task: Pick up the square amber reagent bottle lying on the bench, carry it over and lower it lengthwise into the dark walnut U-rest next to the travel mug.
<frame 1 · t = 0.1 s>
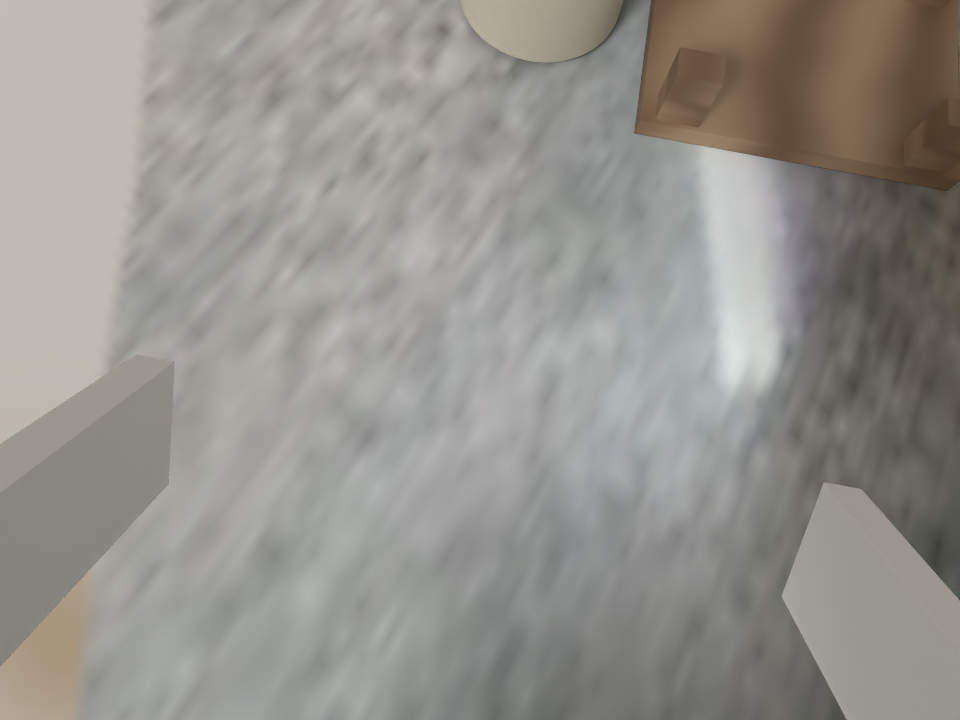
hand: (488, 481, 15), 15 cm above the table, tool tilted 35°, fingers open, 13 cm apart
U-rest: (796, 63, 37), on the table
travel mug: (539, 2, 38), on the table
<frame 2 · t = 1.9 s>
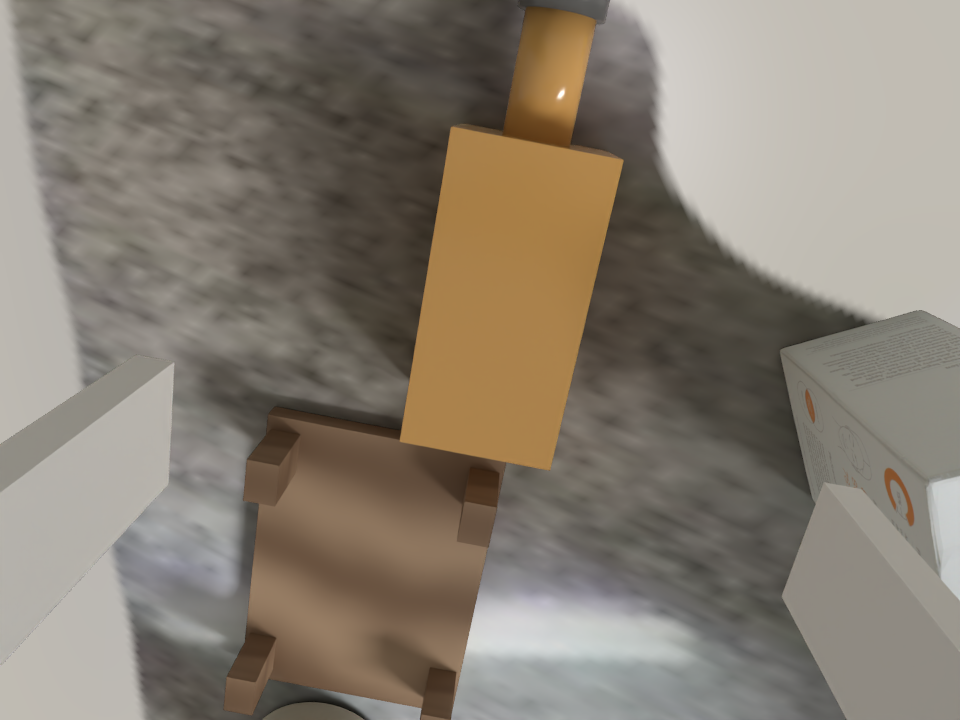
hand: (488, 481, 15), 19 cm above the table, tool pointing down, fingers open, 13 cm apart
U-rest: (369, 562, 38), on the table
amber bottle: (507, 276, 33), on the table
small box: (862, 405, 34), on the table
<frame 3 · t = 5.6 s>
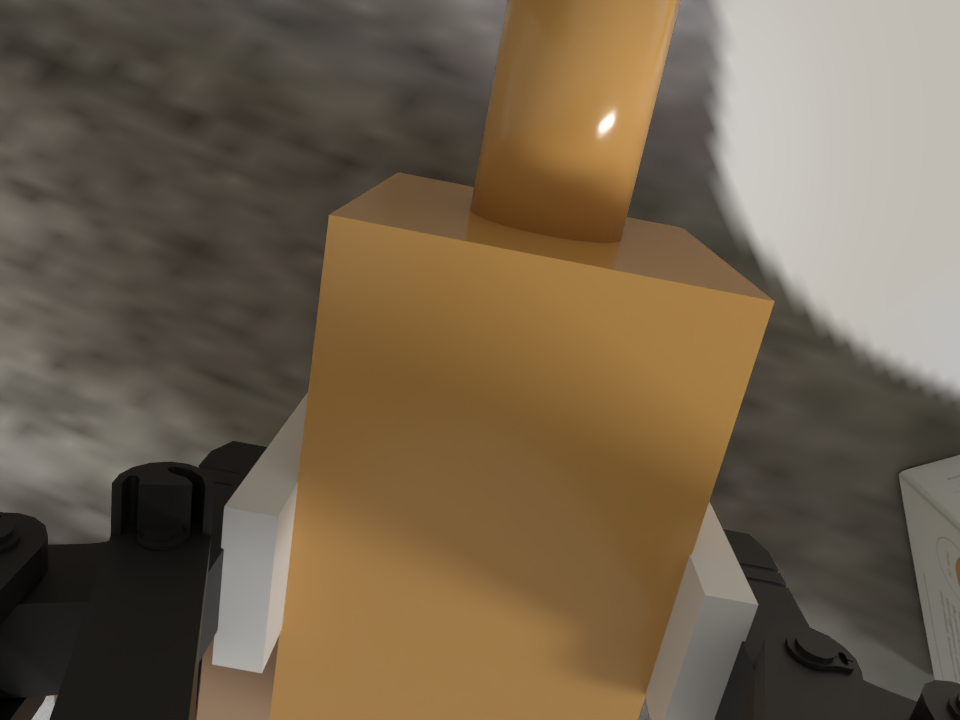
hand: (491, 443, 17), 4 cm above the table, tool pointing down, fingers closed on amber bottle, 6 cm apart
amber bottle: (487, 456, 18), point 4 cm above the table, touching gripper
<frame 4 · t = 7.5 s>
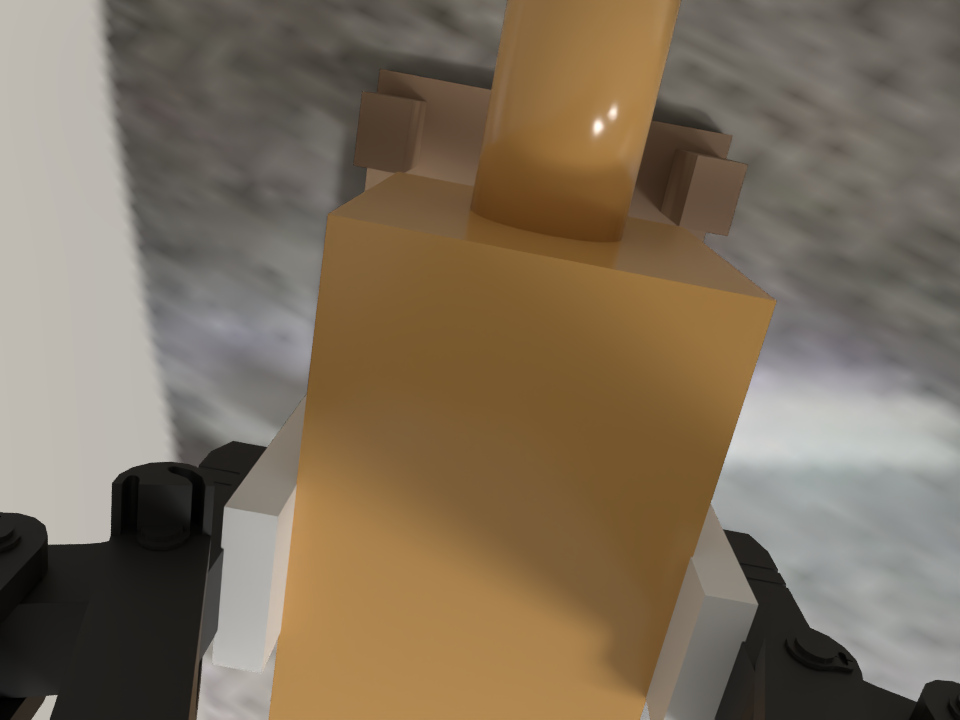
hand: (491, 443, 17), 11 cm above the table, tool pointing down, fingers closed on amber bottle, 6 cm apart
U-rest: (511, 321, 27), on the table
amber bottle: (487, 457, 18), point 10 cm above the table, touching gripper
when the fingers open (1 cm above the table, at t = 9.7 s): amber bottle stays where it is, resting on U-rest.
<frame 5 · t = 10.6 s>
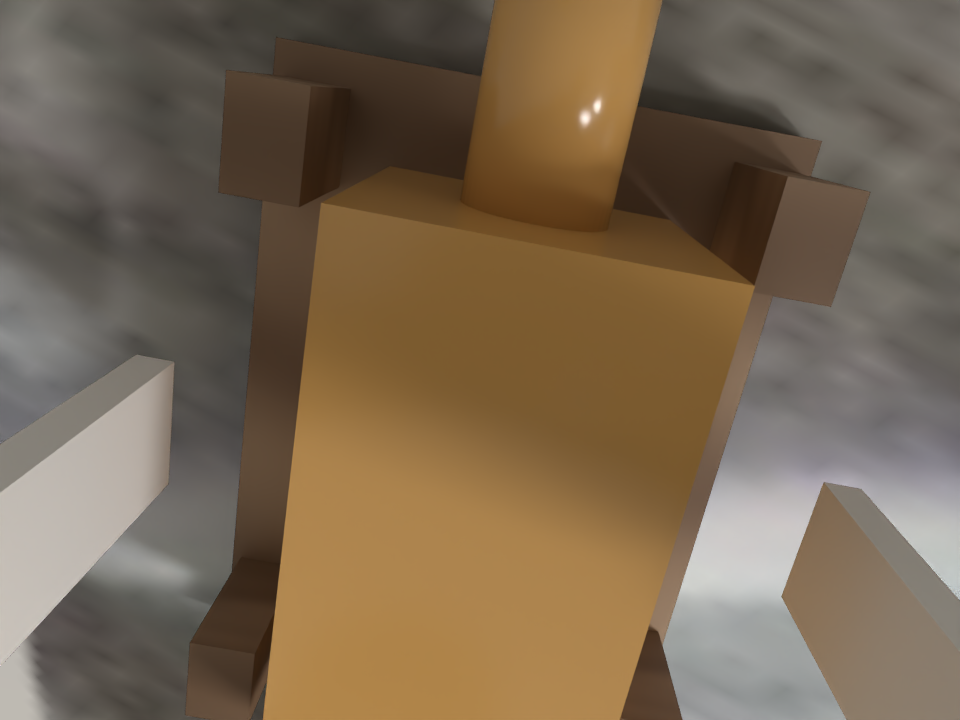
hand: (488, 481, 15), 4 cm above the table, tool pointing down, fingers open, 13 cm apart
U-rest: (485, 408, 19), on the table
amber bottle: (479, 446, 18), point 1 cm above the table, touching U-rest
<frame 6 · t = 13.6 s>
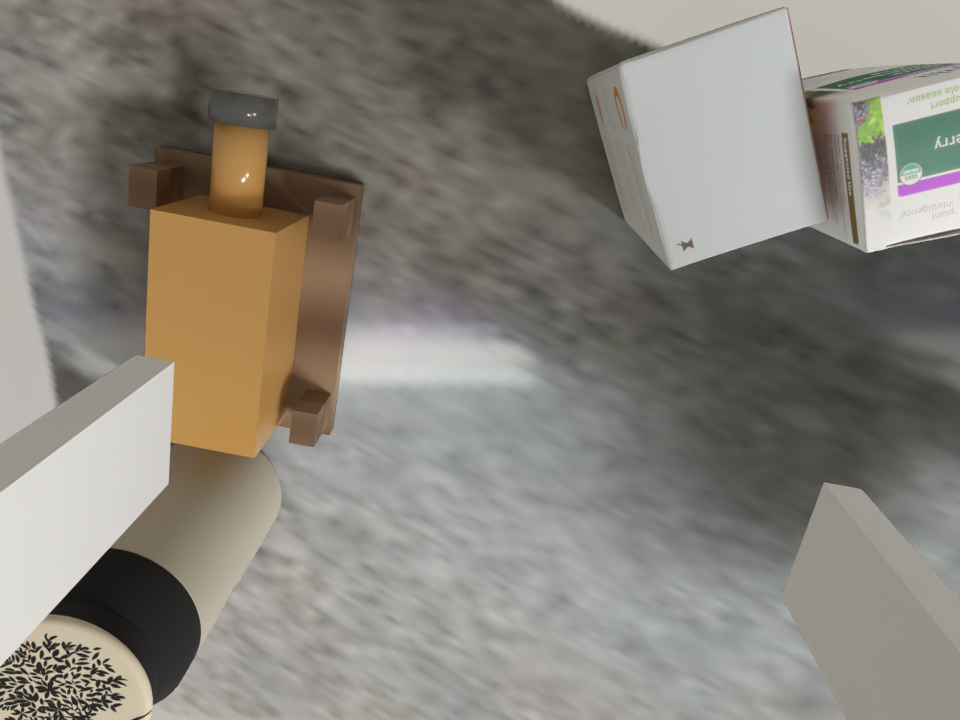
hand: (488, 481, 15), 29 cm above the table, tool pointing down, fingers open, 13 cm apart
U-rest: (253, 295, 44), on the table
amber bottle: (246, 309, 43), point 1 cm above the table, touching U-rest
syrup box: (796, 138, 40), on the table
travel mug: (222, 485, 49), on the table
small box: (662, 133, 40), on the table
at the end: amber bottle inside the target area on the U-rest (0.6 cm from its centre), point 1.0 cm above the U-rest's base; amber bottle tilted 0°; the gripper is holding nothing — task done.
